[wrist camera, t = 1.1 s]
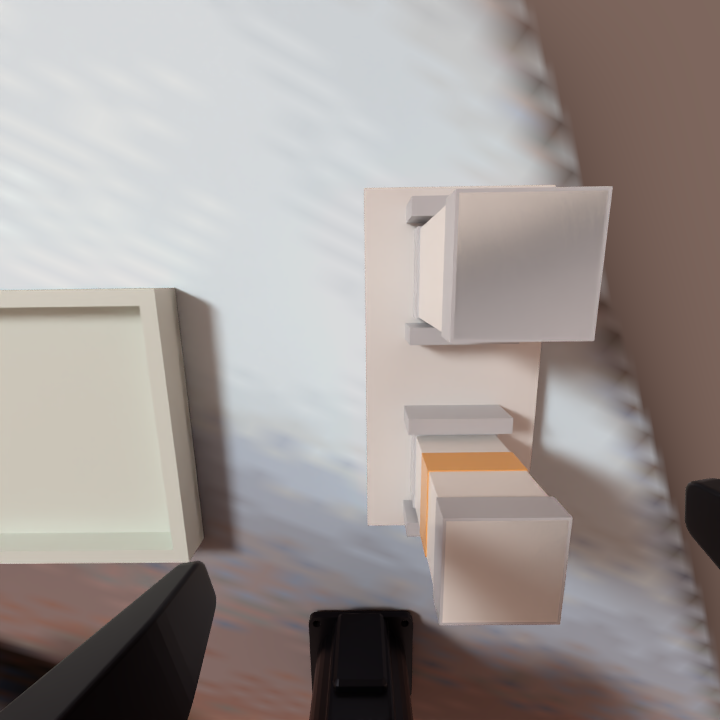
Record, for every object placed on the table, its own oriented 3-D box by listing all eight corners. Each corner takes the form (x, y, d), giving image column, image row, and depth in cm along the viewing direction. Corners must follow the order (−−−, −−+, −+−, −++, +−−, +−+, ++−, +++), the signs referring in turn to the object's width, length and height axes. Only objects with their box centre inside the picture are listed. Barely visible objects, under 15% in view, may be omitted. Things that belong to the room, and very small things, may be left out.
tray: (204, 537, 22) (188, 562, 21) (-40, 539, 23) (-78, 564, 21) (175, 287, 19) (153, 288, 17) (-108, 291, 19) (-160, 293, 18)
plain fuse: (496, 316, 19) (594, 341, 11) (412, 316, 19) (449, 342, 11) (501, 228, 18) (612, 186, 10) (414, 229, 18) (455, 188, 10)
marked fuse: (485, 494, 21) (559, 624, 13) (410, 495, 21) (439, 625, 13) (489, 424, 20) (572, 517, 12) (411, 424, 20) (443, 518, 12)
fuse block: (517, 513, 22) (541, 548, 19) (367, 514, 22) (368, 550, 19) (545, 190, 18) (580, 172, 15) (364, 193, 18) (364, 176, 15)
